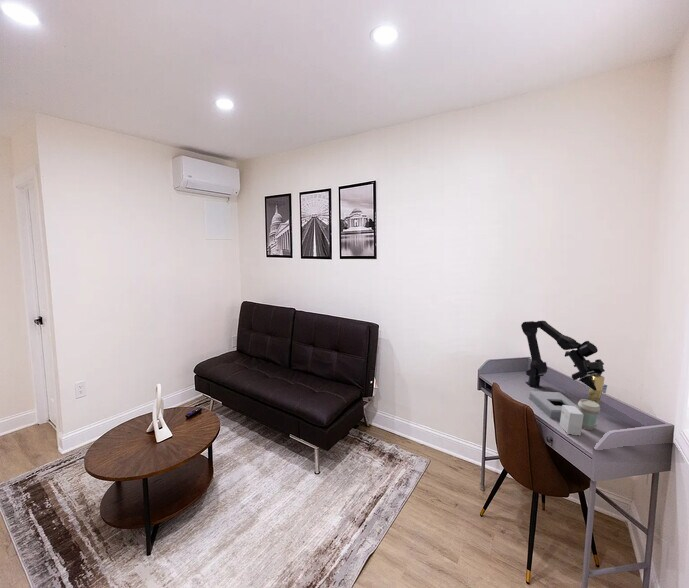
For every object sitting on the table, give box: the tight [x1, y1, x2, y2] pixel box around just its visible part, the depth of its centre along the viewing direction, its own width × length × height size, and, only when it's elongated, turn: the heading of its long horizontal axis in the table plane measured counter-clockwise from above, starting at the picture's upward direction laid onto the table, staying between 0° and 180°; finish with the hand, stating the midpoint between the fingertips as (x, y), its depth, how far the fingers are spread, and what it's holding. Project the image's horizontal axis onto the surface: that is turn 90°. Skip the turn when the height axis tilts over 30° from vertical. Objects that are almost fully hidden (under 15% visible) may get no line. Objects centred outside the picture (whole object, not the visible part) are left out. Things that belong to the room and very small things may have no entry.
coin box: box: [528, 390, 579, 420], centre depth 169 cm, size 20×16×4 cm
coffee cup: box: [577, 398, 601, 431], centre depth 153 cm, size 8×8×12 cm
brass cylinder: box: [587, 374, 605, 404], centre depth 164 cm, size 5×5×13 cm
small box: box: [559, 404, 584, 436], centre depth 149 cm, size 8×6×10 cm
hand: (598, 389), depth 163 cm, fingers closed on brass cylinder, 5 cm apart
